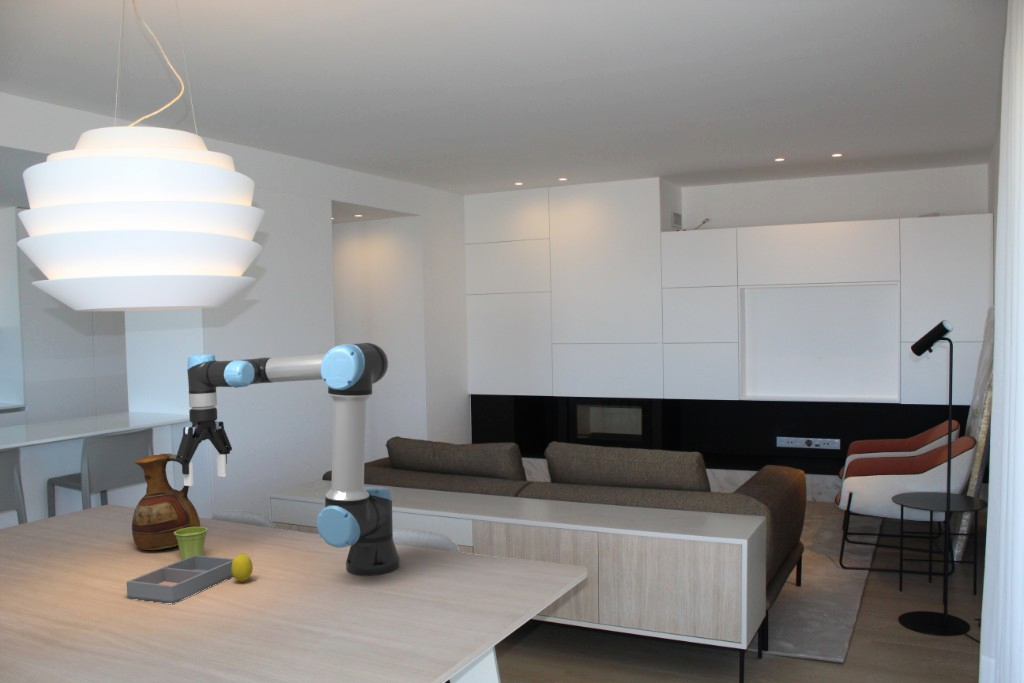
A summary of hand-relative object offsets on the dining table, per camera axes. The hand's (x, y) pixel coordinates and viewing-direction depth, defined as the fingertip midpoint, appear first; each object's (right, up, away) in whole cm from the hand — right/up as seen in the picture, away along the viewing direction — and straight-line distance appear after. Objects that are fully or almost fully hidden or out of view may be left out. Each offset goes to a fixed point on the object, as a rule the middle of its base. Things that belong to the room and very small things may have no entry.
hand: (205, 481), depth 236 cm
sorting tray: (0, -26, -15) cm, 30 cm away
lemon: (+15, -26, -12) cm, 32 cm away
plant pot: (-8, -26, +11) cm, 29 cm away
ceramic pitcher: (-22, -26, +26) cm, 43 cm away
